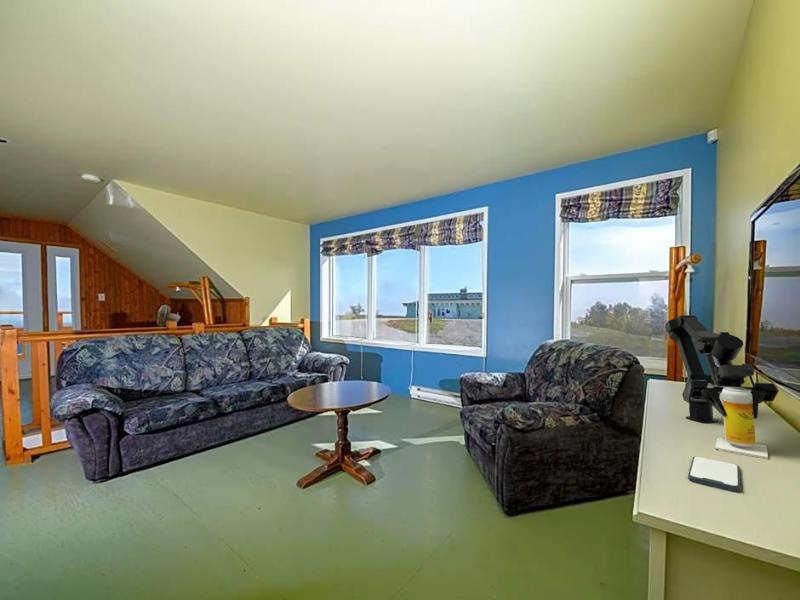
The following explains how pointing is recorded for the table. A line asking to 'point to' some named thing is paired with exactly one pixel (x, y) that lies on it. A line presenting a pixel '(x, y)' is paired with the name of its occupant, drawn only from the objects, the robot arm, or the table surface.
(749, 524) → the table surface
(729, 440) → the beer can
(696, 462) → the phone case
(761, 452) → the mat
